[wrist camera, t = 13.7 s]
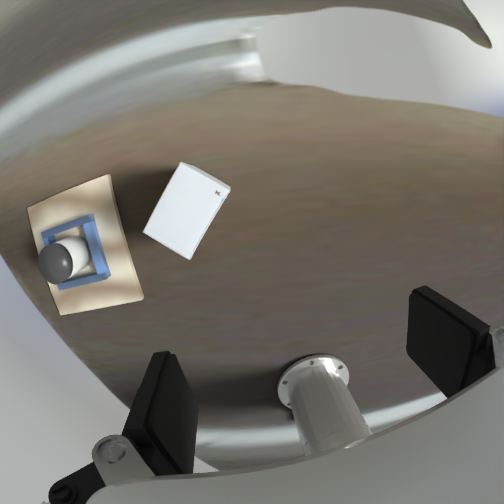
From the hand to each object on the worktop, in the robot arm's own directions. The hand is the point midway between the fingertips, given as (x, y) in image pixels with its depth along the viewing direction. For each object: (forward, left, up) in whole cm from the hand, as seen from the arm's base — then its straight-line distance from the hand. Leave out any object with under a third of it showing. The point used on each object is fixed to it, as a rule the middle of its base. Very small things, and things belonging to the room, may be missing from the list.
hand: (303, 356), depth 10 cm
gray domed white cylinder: (+3, +25, -27) cm, 37 cm away
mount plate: (+3, +25, -28) cm, 38 cm away
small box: (+5, +6, -29) cm, 30 cm away
